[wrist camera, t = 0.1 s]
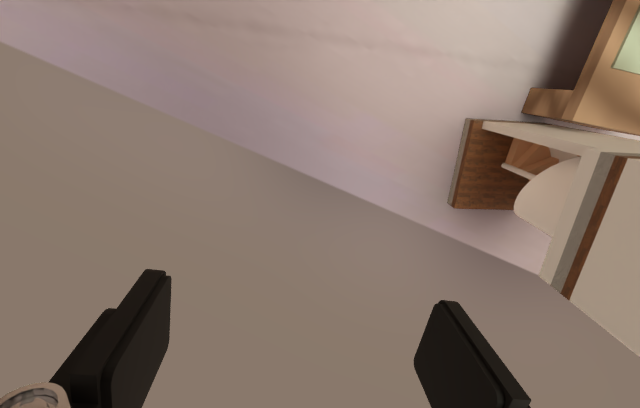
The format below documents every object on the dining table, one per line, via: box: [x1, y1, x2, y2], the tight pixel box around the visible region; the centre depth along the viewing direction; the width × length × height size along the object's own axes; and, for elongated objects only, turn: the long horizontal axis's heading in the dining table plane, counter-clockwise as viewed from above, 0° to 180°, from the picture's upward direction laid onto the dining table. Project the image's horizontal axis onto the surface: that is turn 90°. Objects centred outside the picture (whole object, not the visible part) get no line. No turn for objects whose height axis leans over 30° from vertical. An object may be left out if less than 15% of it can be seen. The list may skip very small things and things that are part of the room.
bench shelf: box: [521, 0, 640, 136], centre depth 35 cm, size 20×12×8 cm, turn 169°
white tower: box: [447, 119, 640, 357], centre depth 28 cm, size 11×11×35 cm
